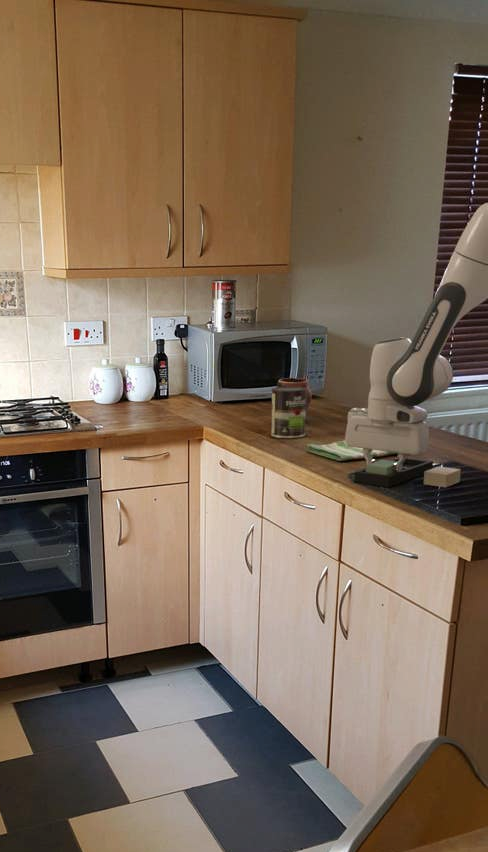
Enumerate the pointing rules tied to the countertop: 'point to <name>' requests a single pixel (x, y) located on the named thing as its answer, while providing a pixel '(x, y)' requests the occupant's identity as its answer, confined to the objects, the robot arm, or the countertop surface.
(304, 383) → the decorative planter
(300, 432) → the coffee can
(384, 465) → the sage pad
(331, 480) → the countertop surface
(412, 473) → the divided tray
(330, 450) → the dish towel
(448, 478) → the cream pad
